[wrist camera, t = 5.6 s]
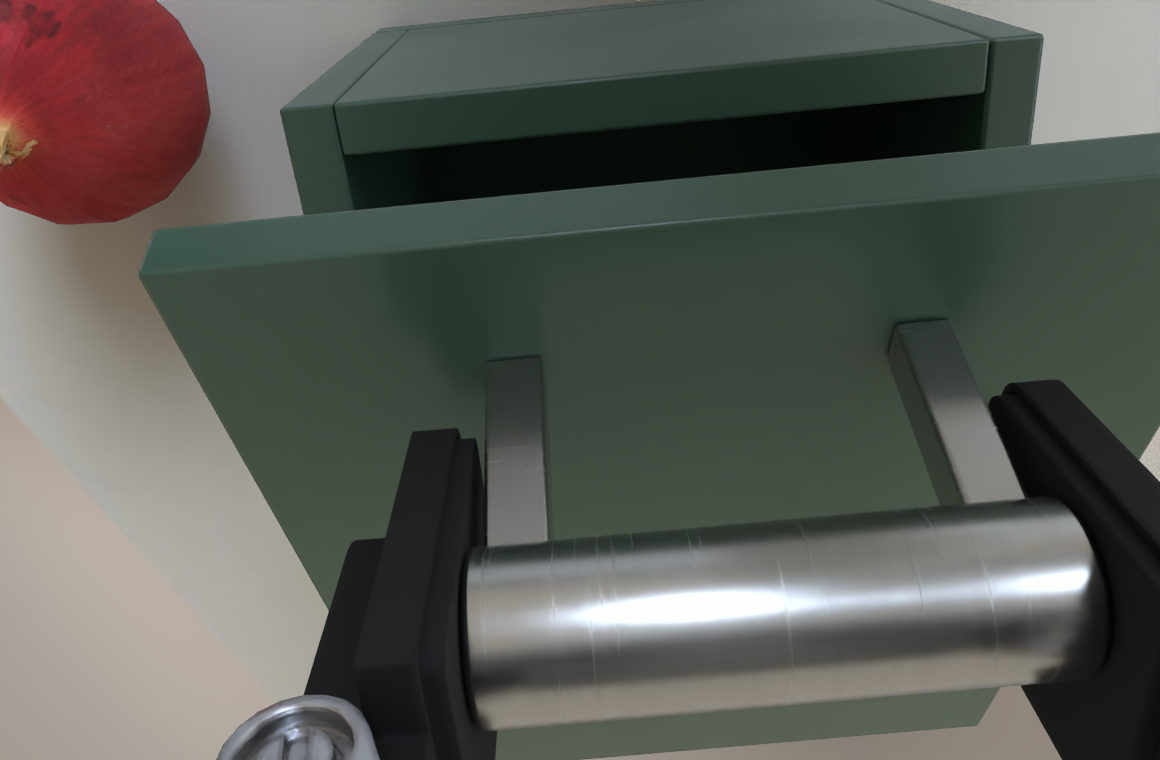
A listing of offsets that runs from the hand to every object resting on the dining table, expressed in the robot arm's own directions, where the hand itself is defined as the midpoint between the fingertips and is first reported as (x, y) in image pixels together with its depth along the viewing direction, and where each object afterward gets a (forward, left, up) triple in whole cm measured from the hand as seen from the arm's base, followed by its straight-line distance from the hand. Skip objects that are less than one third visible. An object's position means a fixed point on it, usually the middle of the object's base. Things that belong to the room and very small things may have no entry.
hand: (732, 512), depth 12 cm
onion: (-4, -13, -17) cm, 22 cm away
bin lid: (+3, 0, -4) cm, 5 cm away
